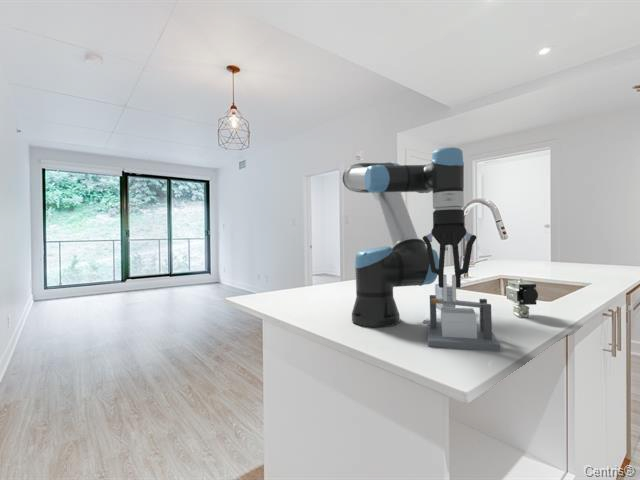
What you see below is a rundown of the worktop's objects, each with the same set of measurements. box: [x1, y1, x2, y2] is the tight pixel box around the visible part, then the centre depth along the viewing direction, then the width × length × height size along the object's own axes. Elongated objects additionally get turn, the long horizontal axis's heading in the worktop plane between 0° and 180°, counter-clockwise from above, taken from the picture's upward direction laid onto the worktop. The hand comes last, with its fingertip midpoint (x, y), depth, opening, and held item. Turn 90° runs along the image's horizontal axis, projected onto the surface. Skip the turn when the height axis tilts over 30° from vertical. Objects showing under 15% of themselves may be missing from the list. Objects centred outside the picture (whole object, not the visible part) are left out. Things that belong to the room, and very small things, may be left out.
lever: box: [431, 298, 488, 309], centre depth 87 cm, size 14×4×1 cm, turn 73°
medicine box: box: [434, 283, 457, 311], centre depth 119 cm, size 8×4×9 cm, turn 179°
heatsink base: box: [427, 294, 501, 352], centre depth 87 cm, size 16×14×10 cm
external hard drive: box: [422, 310, 441, 325], centre depth 106 cm, size 2×8×12 cm
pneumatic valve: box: [504, 278, 539, 319], centre depth 107 cm, size 6×12×12 cm, turn 174°
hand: (449, 300), depth 87 cm, fingers closed on lever, 1 cm apart
